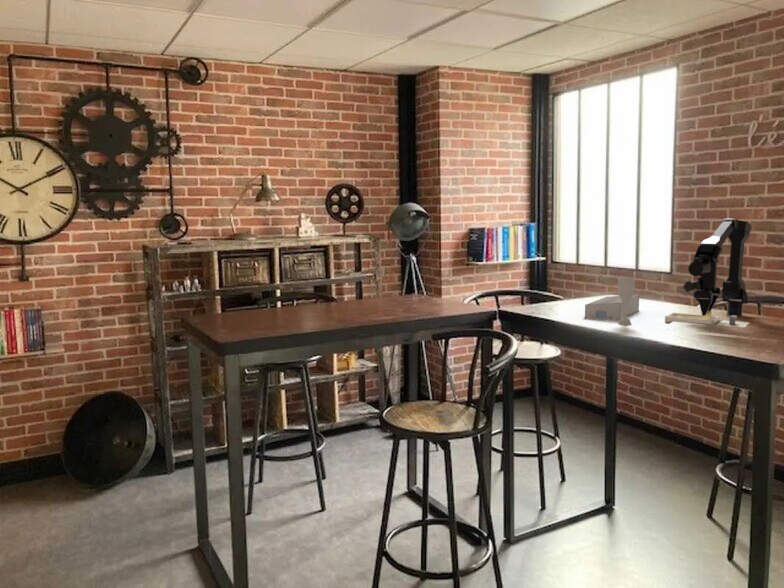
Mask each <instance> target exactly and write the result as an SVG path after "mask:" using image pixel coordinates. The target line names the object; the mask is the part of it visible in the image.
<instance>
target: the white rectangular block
mask: <svg viewBox="0 0 784 588" xmlns="http://www.w3.org/2000/svg"><path fill="white" fill-rule="evenodd" d="M737 318H738V316H737V315H732V316H729V320H724V319H723V320H721V321H719V322H718V323H717V324H716V326H724V327H734V328H746V327H747V326H748V325H749V324H750V323H751V322H749V321H739V320H738V321H737V320H736V319H737Z"/></svg>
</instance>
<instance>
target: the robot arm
mask: <svg viewBox="0 0 784 588" xmlns="http://www.w3.org/2000/svg"><path fill="white" fill-rule="evenodd" d="M751 231H752V224H751V223H750V222H749V221H748V220H739V219H737V218H724V219H722V221H721V224H720V225H719V226H718V227H717V229H715V231H714V233H712V235H711V236H710V237H708V238H706V239H705V238H704V240H702V242H701V243H700V244H699V245H698V247H697V249H696V251H695V254H694V256H693V261H692V262H691V263H689V265H688V273H689V274H690V275H691V276H693V277H697V280H695V281H692V280H687V281H684V284H683V289H684V291H685V293H689V292H691V291H694V292H693V296H692V297H693V298H694V299H695V300H696V301H697V302H698V303H699V307H700V311H701V312H700V313H701V315H703V316H705V315H706V313H707V311H708V310H711V311H712V309H713V308H714V305H715V304H716V301H717V300H718V298H719V296H720V294H721V299H722V300H721V301H722V302H723V303H724V302H727V307H726V309H727V310H726V314H725V316H729V317H730V316H732V315H737V317H745V314H743V313H744V311H743V310H744V304H749V301H750V296H749V294H748V292H747V290H746V283H745V281H744V280H743V276H742V275H743V266H744V265H743V264H744V252H745V251H744V250H745V243H746V241H747V240H748V238H749V237H750V234H751ZM727 239H729V241H730V253H729V265H728V277H727V278H726V280H725V281H723V282H722V288H721V287H719V286H717V280H718V276H717V271H718V270H717V269H718V263H719V262H720V261H719V259H718V258H719V257H720V255H721V253H722V251H723V244H724V243H725V241H726V240H727Z"/></svg>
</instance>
